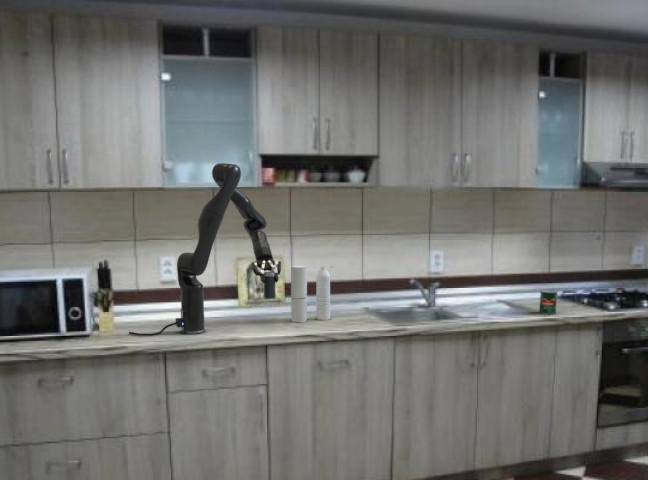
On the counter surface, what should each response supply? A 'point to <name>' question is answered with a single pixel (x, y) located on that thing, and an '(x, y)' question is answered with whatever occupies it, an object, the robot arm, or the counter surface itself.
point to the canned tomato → (548, 302)
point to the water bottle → (323, 294)
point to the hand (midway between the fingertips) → (270, 281)
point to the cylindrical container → (298, 293)
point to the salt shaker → (269, 285)
